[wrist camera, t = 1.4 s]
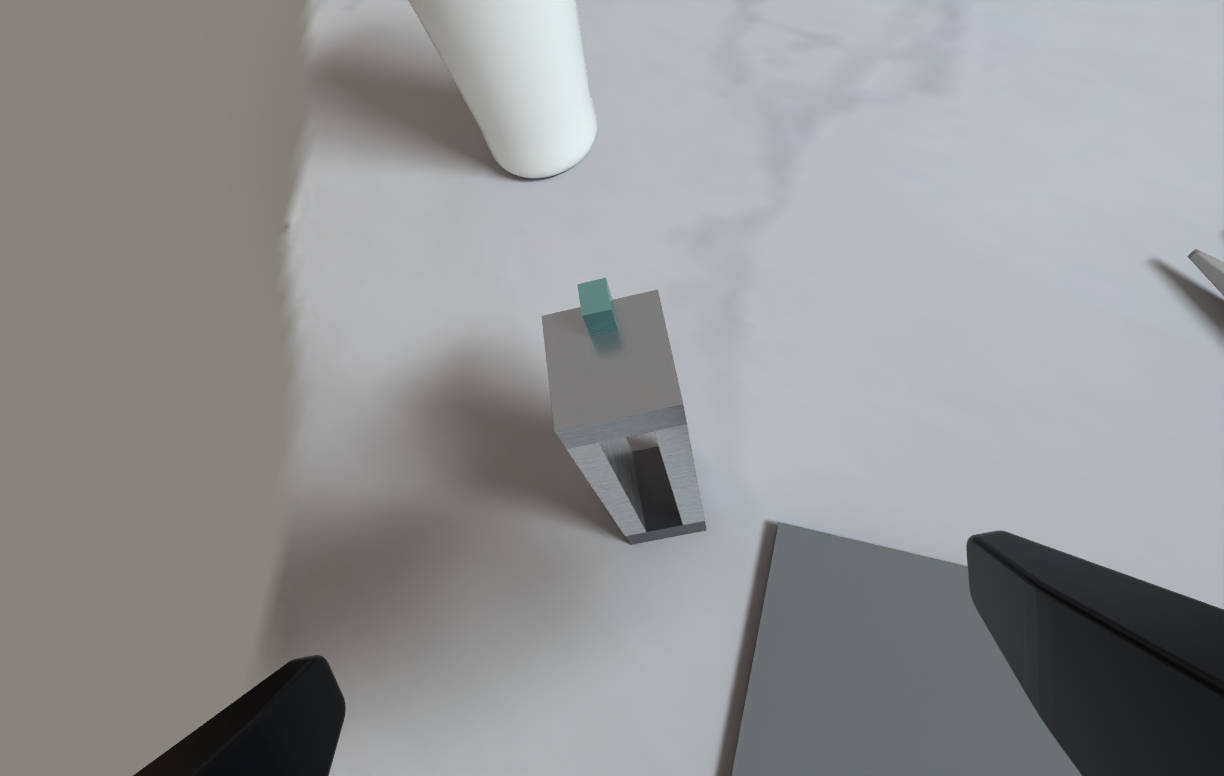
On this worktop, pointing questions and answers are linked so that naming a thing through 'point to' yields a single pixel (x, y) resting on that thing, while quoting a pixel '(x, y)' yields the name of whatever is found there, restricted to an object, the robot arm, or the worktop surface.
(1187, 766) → the robot arm
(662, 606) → the worktop surface
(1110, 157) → the worktop surface
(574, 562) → the worktop surface
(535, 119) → the white tumbler
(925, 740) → the mat
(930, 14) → the worktop surface
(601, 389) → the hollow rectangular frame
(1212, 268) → the pliers
